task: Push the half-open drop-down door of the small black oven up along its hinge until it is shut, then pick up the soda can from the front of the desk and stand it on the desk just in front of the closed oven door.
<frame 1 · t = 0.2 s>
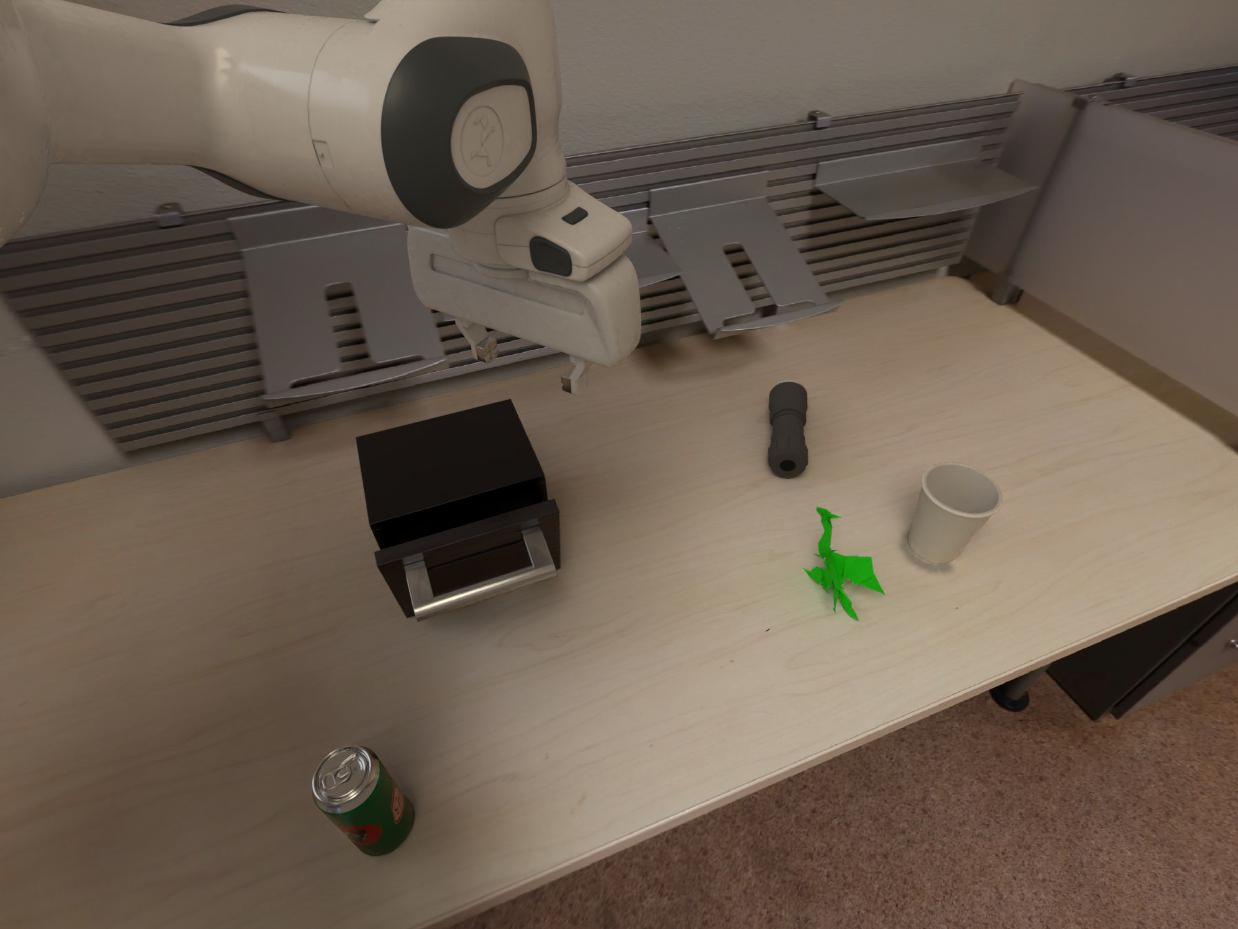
hand: (529, 373, 56), 29 cm above the table, tool pointing down, fingers open, 8 cm apart
flashlight: (784, 442, 92), on the table
figurine: (829, 586, 74), on the table
soda can: (386, 826, 57), on the table
oven door: (484, 583, 67), point 6 cm above the table, hinge at 12.8°
oven: (469, 537, 80), on the table
dixie cup: (932, 545, 78), on the table
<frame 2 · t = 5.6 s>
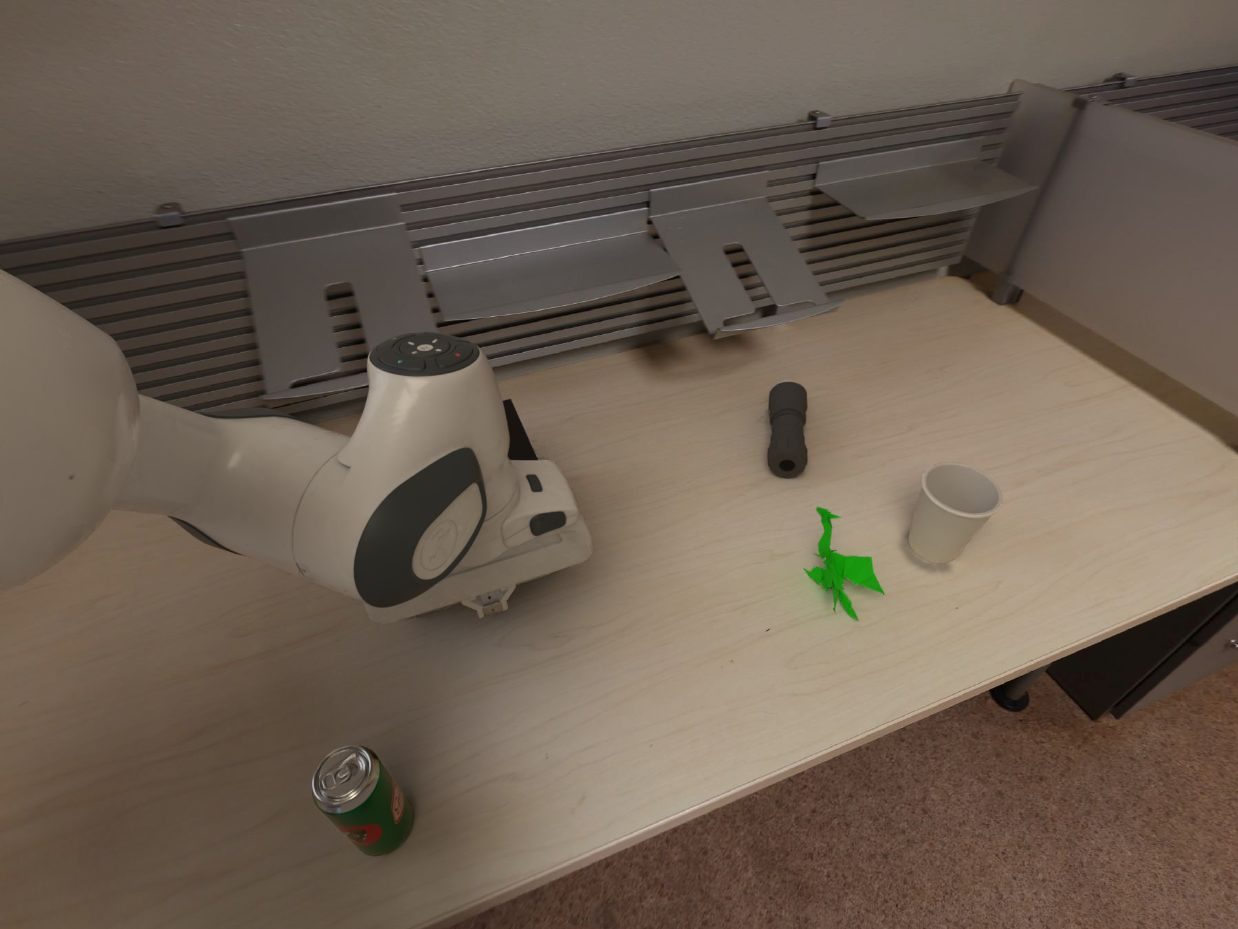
hand: (492, 608, 62), 9 cm above the table, tool pointing down, fingers closed, pressing on oven door
oven door: (483, 581, 67), point 6 cm above the table, hinge at 10.9°, touching gripper
everything else where it was.
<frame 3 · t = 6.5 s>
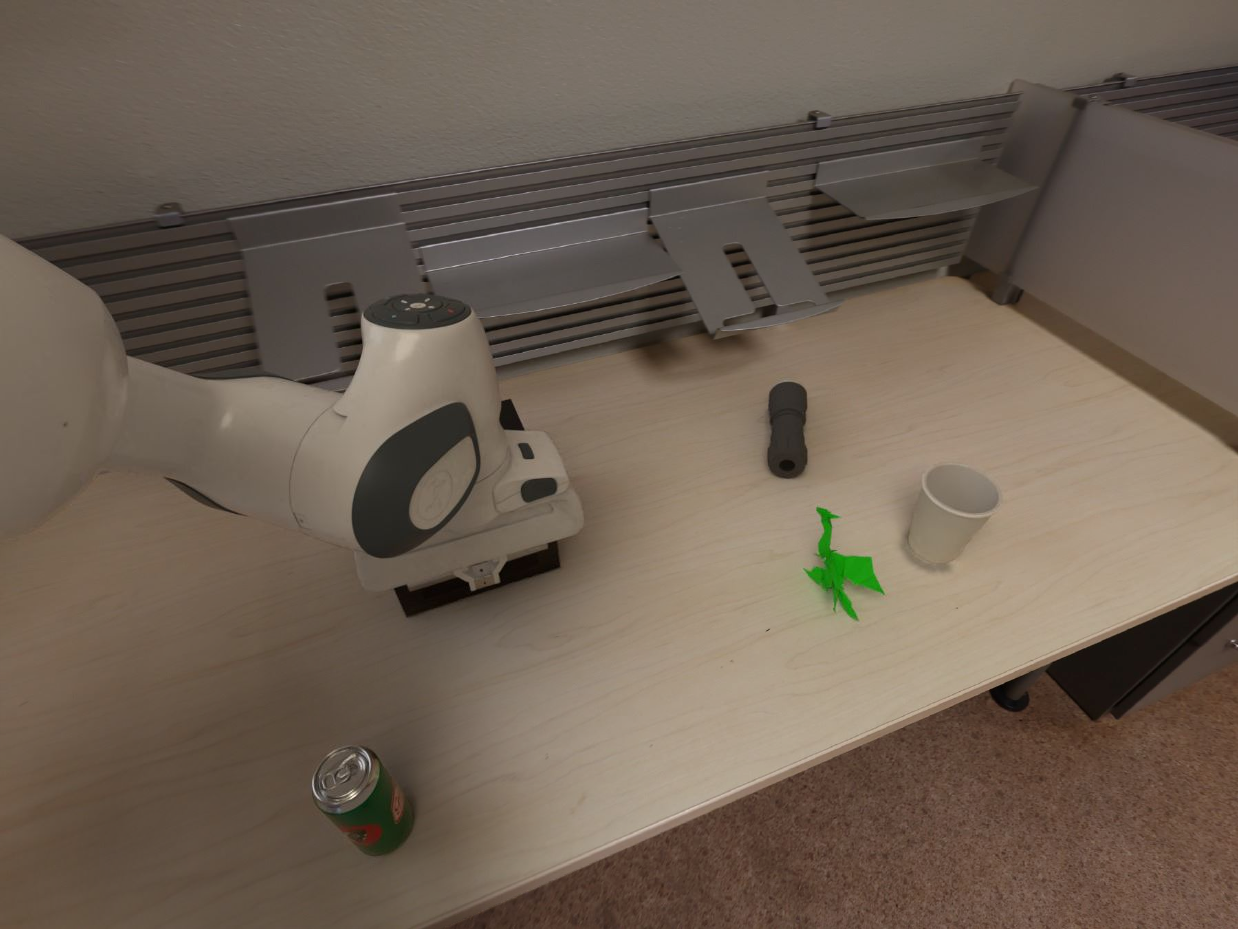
hand: (484, 581, 63), 10 cm above the table, tool pointing down, fingers closed, pressing on oven door
oven door: (479, 567, 68), point 7 cm above the table, hinge at -0.8°, touching gripper
everything else where it was.
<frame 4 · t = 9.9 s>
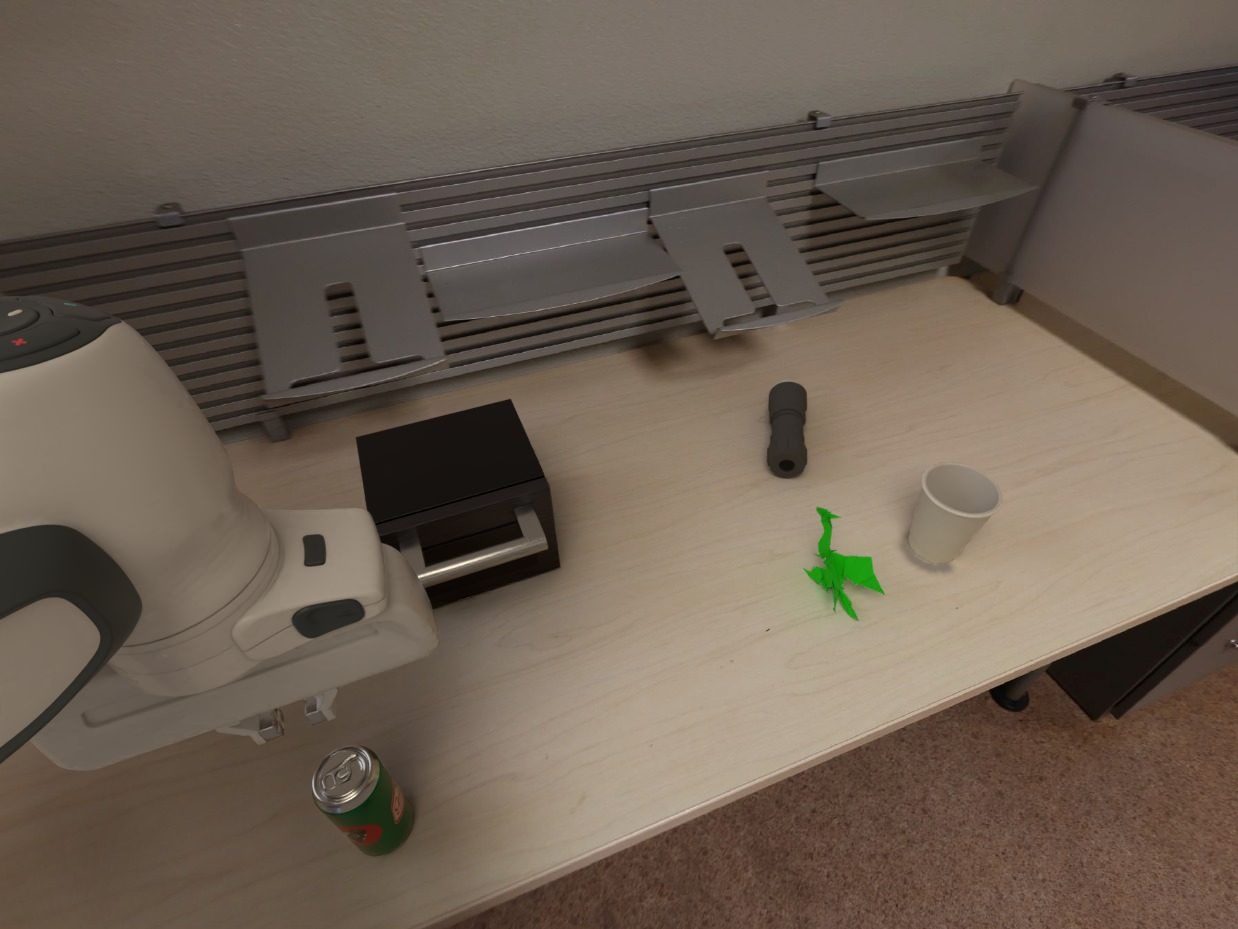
hand: (299, 721, 42), 21 cm above the table, tool pointing down, fingers closed
oven door: (479, 568, 68), point 7 cm above the table, hinge at -0.5°
everything else where it was.
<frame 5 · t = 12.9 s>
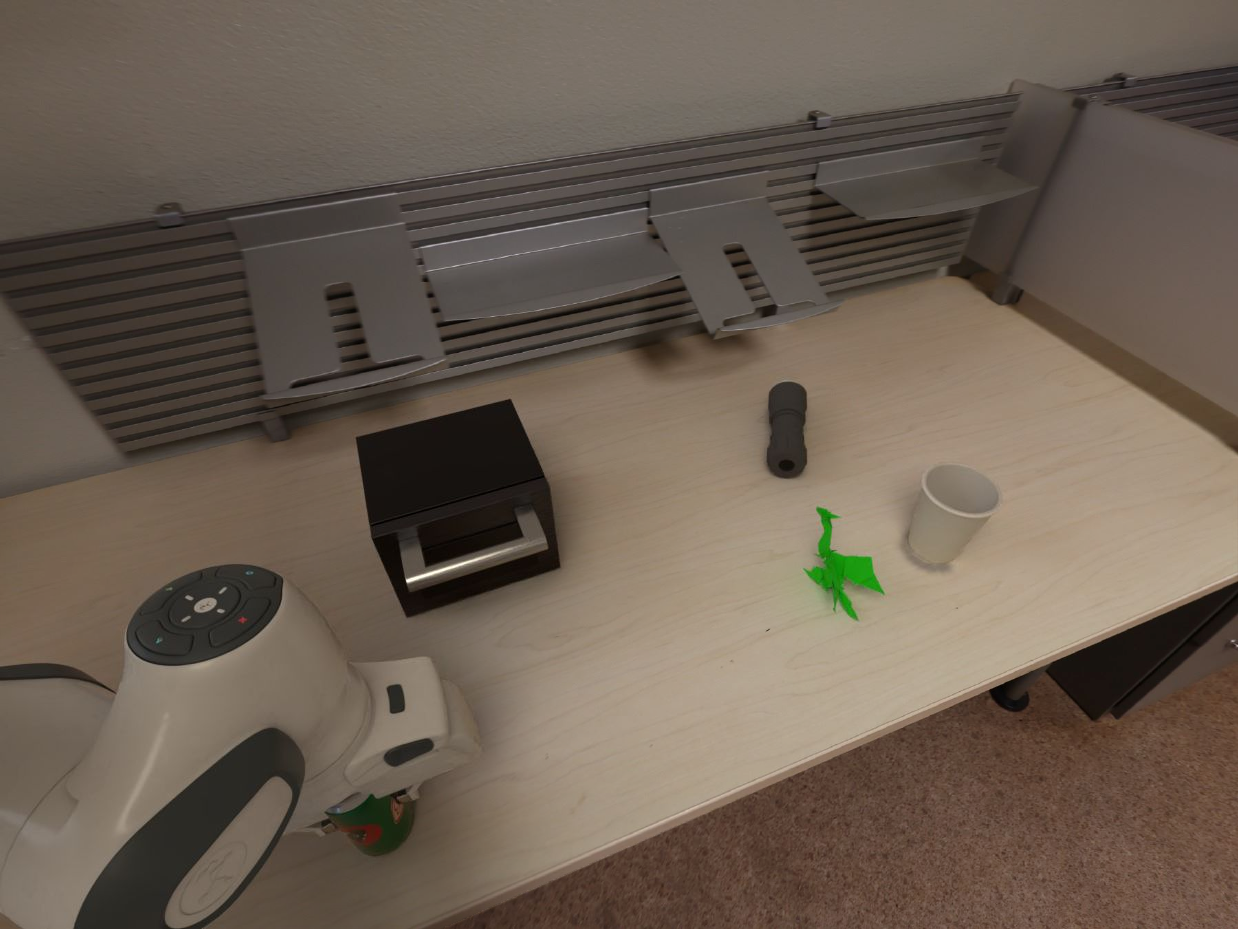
hand: (370, 807, 53), 5 cm above the table, tool pointing down, fingers closed on soda can, 5 cm apart
soda can: (385, 826, 57), on the table, touching gripper
everything else where it was.
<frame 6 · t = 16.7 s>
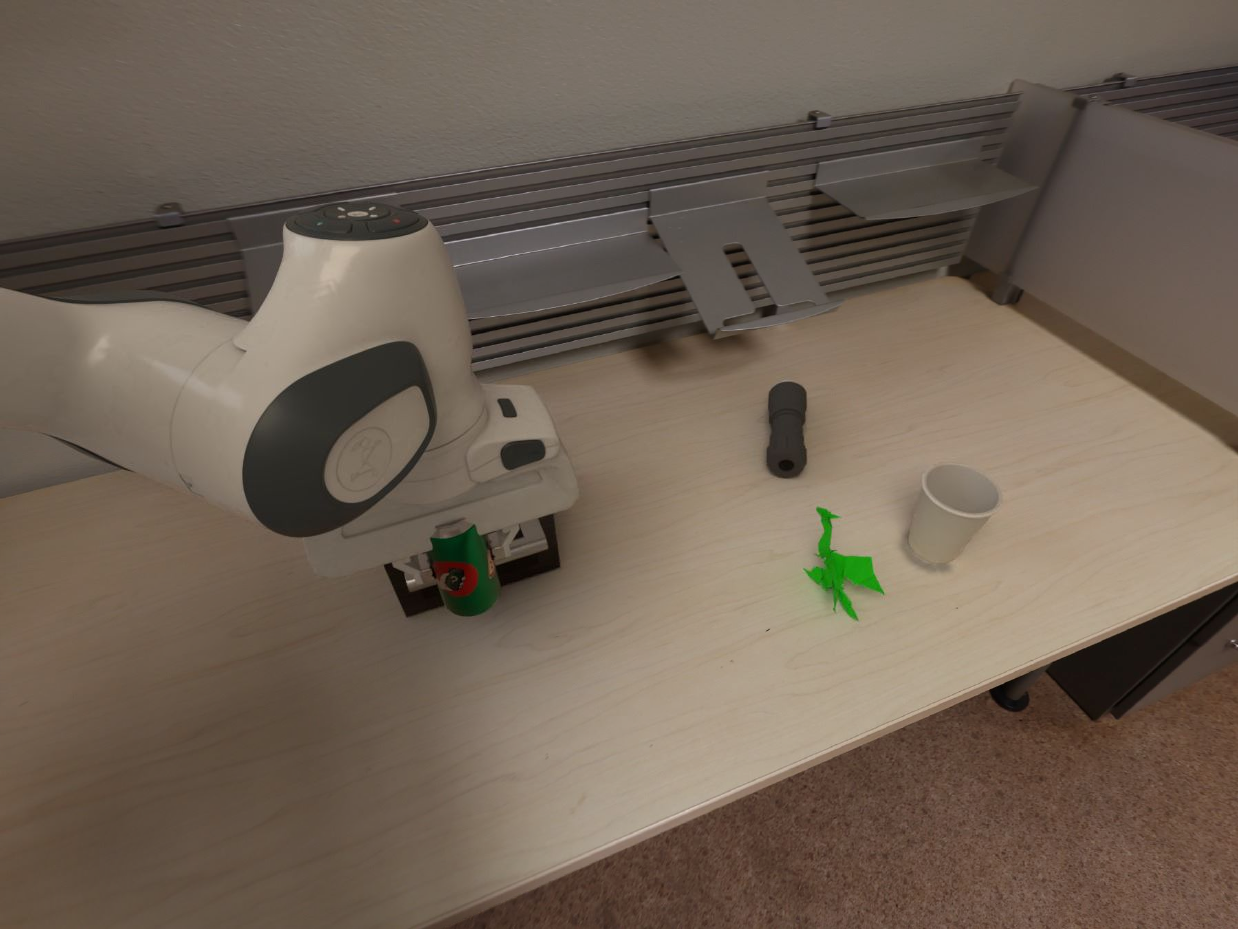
hand: (464, 564, 54), 19 cm above the table, tool pointing down, fingers closed on soda can, 5 cm apart
soda can: (473, 597, 57), point 14 cm above the table, touching gripper
everything else where it was.
when the fingers open (5 cm above the table, at t = 20.3 s): soda can stays where it is, on the table.
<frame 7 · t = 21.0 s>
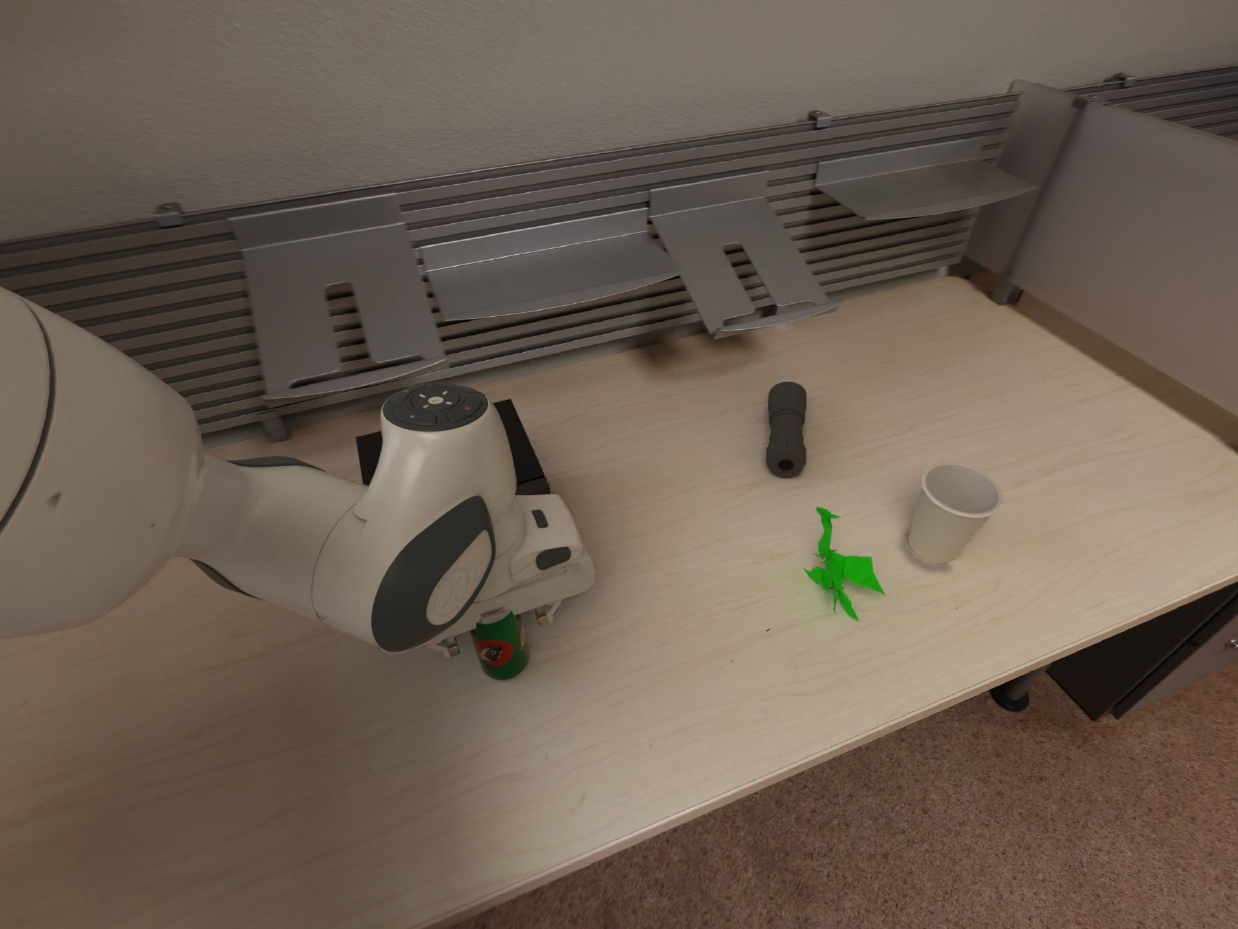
hand: (499, 634, 64), 5 cm above the table, tool pointing down, fingers open, 8 cm apart
soda can: (506, 661, 68), on the table
everything else where it was.
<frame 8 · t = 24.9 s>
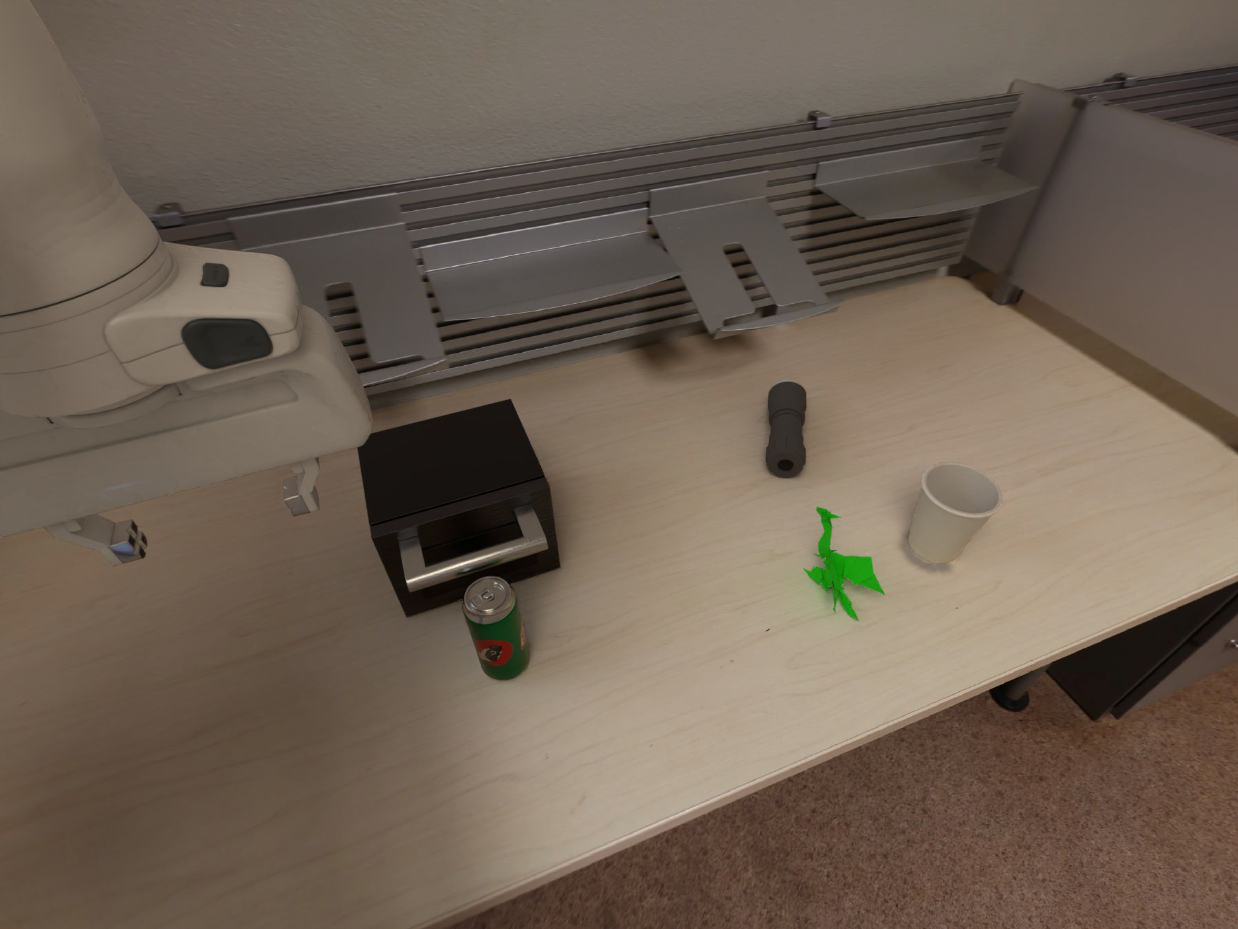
hand: (222, 529, 38), 33 cm above the table, tool pointing down, fingers open, 8 cm apart
nothing on the table moved.
at the end: oven door at +0° (first picture: +14°); soda can 0.0 cm from the target spot on the table beside the oven, on the table; soda can tilted 0° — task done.
